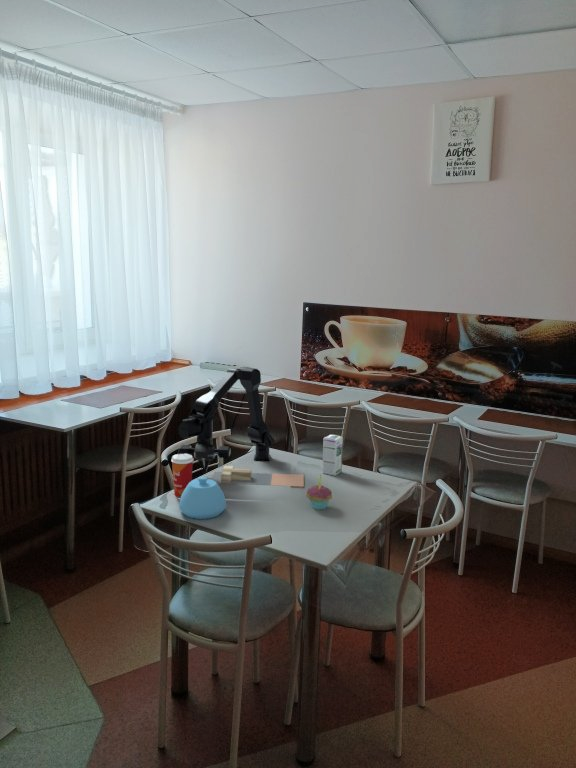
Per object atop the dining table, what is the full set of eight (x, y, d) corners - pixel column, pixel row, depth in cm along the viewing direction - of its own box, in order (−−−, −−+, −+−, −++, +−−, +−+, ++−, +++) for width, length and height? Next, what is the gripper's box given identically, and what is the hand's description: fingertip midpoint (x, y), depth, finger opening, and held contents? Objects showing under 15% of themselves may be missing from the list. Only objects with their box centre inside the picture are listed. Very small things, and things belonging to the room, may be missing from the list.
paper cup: (170, 491, 220) (169, 453, 217) (192, 490, 223) (191, 452, 220) (173, 500, 213) (172, 460, 210) (195, 498, 215) (195, 459, 212)
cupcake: (332, 512, 207) (333, 477, 205) (306, 511, 207) (307, 477, 204) (330, 501, 215) (331, 468, 213) (305, 501, 215) (306, 468, 213)
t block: (224, 472, 239) (224, 465, 238) (251, 473, 239) (251, 466, 238) (220, 482, 229) (220, 474, 229) (249, 483, 229) (249, 475, 228)
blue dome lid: (185, 523, 195) (184, 488, 193) (175, 505, 209) (174, 472, 207) (231, 517, 201) (231, 483, 199) (218, 500, 215) (218, 467, 212)
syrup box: (335, 476, 240) (337, 439, 238) (321, 473, 243) (323, 437, 240) (341, 471, 245) (343, 436, 242) (328, 469, 248) (329, 433, 245)
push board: (214, 472, 240) (214, 471, 240) (303, 475, 240) (303, 474, 240) (210, 484, 228) (210, 483, 228) (303, 487, 228) (303, 486, 228)
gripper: (175, 438, 223) (175, 480, 226) (227, 440, 223) (227, 481, 226) (180, 429, 234) (181, 469, 237) (230, 431, 234) (230, 471, 237)
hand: (204, 473), depth 234 cm, fingers closed
